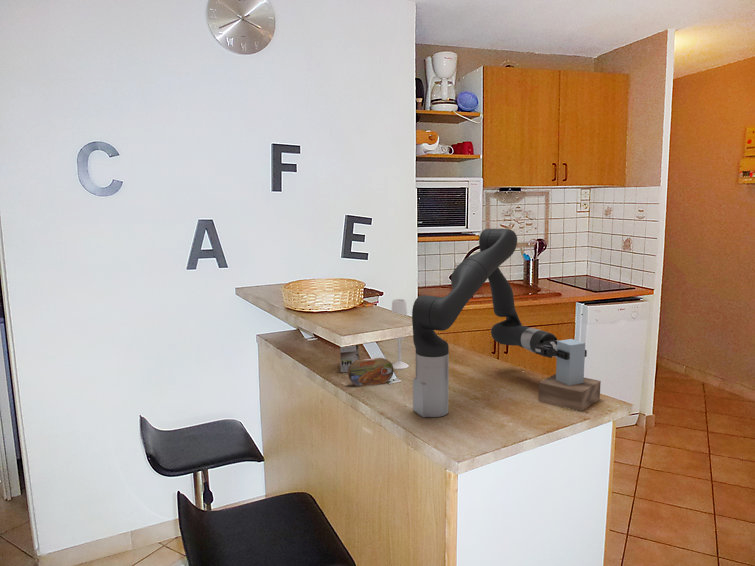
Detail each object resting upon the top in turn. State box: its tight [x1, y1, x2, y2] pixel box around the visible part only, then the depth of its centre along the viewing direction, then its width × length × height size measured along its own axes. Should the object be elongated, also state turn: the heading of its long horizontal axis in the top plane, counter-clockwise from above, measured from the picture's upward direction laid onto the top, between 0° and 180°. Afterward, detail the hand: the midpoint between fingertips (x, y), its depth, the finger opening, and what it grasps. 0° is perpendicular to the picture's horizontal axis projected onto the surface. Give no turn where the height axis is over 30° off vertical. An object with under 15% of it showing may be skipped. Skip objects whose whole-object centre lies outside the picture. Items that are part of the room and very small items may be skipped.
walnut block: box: [538, 373, 602, 412], centre depth 169 cm, size 13×13×6 cm
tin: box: [347, 357, 394, 387], centre depth 186 cm, size 15×3×8 cm, turn 105°
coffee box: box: [339, 344, 360, 373], centre depth 202 cm, size 9×6×16 cm
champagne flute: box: [391, 298, 410, 370], centre depth 203 cm, size 7×7×24 cm
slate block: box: [555, 338, 586, 386], centre depth 168 cm, size 6×6×12 cm
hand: (577, 355), depth 165 cm, fingers open, 6 cm apart
